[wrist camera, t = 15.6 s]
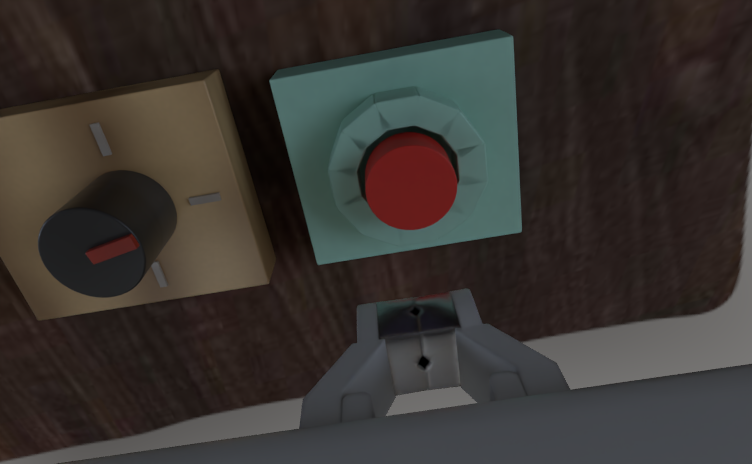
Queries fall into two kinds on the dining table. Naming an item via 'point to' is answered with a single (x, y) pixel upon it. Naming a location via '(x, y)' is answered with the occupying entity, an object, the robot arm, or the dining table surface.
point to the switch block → (397, 115)
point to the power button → (410, 181)
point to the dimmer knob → (108, 234)
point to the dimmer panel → (146, 156)
